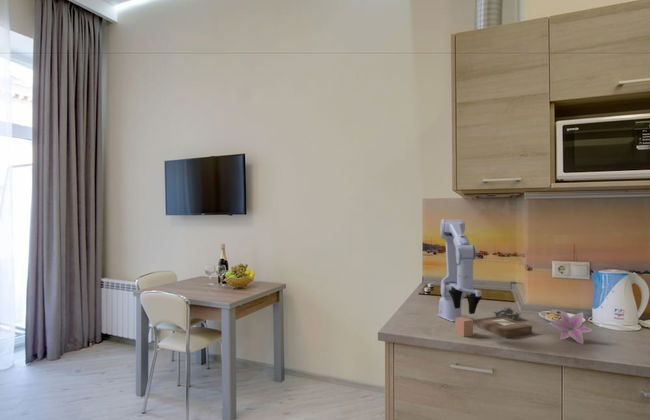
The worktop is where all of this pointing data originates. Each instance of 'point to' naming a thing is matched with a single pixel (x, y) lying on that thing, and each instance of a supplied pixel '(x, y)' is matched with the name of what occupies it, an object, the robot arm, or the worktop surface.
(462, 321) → the terracotta block
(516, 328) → the walnut base
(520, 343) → the worktop surface
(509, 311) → the egg carton
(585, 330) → the lily
